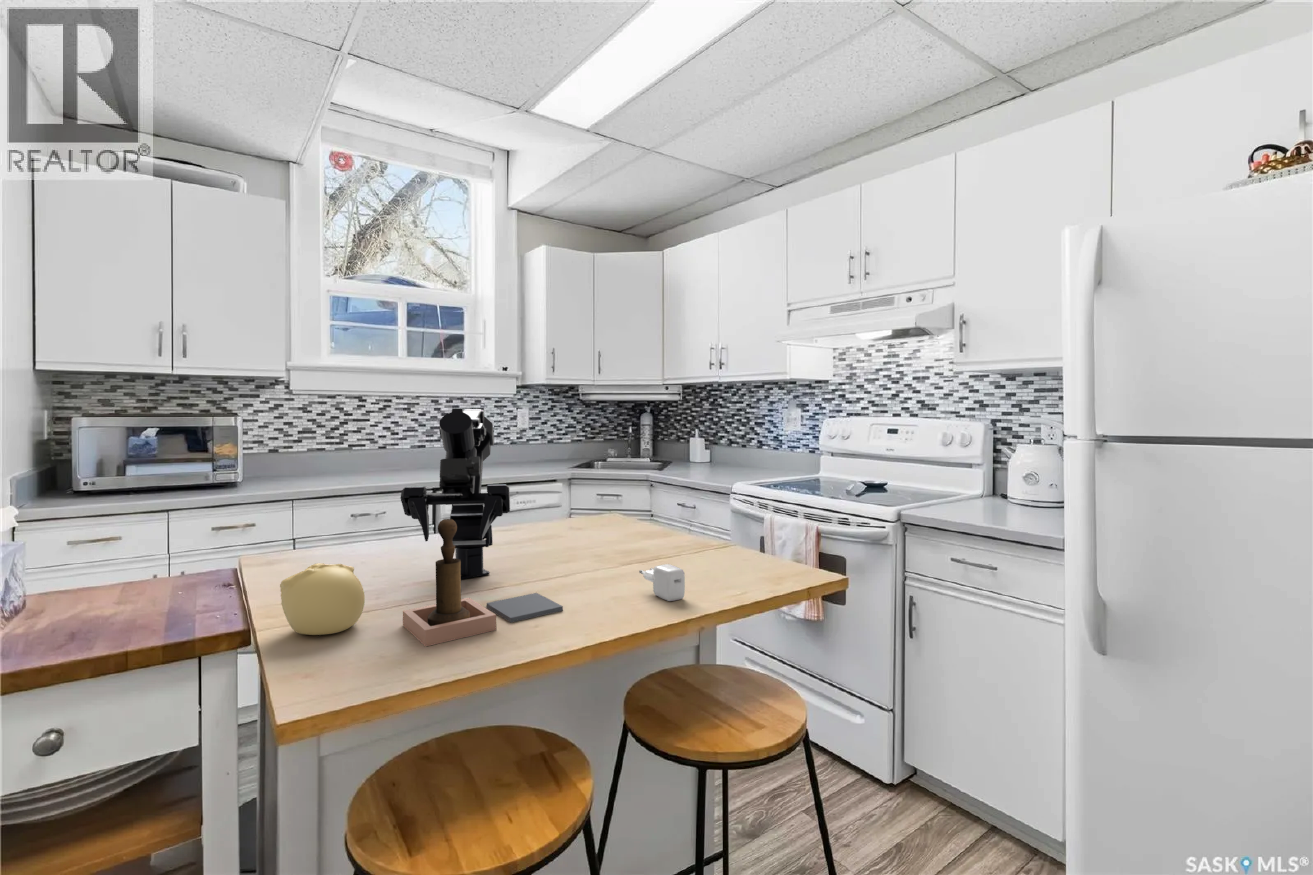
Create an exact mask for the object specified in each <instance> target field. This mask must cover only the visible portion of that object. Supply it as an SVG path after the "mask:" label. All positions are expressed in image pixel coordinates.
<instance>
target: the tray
mask: <svg viewBox="0 0 1313 875" xmlns="http://www.w3.org/2000/svg"><path fill="white" fill-rule="evenodd" d="M461 606H462V607H464V608H465V609H466V610H468V611H469V612H470V618H467V619H462V620H458V621H453V622H448V623H444V624H439V625H435V626H429V625H428V615H429V614H430V613H431V612H432V611H433V610H434V609H436V603H435V604H430V605H424V606H419V607H415V608H409V609H404V610H402V627H404V628H405V629H406V630H407V631H408V632H409V633H410V634H412V635H413V637H415V638H416V639H417V641H419V642H420V643H421V644H423V646H425V647H429V646H432V645H433V646H434V645H438V644H442V643H445V642H450V641H454V640H460V639H462V638H467V637H471V636H475V635H476V636H477V635H480V634H481V635H482V634H484V633H489V632H494V631H497V614H496V613H495V612H493V611H491V610H490V609H488V608H487V607H485V606H484V605H483V604H480V603H479V602H477V601H475V600H474V599H472V598H471V597H465V598H461Z"/></svg>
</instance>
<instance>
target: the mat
mask: <svg viewBox="0 0 1313 875" xmlns="http://www.w3.org/2000/svg"><path fill="white" fill-rule="evenodd" d="M563 607H564V606H563V605H561V604H560V603H557V602H555V601H553V600H551V599H550V598H548V597H546V596H543V595H542V594H540V593H537V592H533V593H528V594H524V595H519V596H514V597H509V598H504V599H500V600H495V601H490V602H486V607H485V608H486V609H488V610H489V611H491V612H493V613H494V614H496V615H498V616H499V617H501V618H502V619H504V620H506V621H507V622H509V623H514V622H519V621H524V620H528V619H532V618H536V617H542V616H545V615H549V614H553V613H558V612H563V609H564V608H563Z"/></svg>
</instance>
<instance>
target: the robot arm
mask: <svg viewBox="0 0 1313 875" xmlns="http://www.w3.org/2000/svg"><path fill="white" fill-rule="evenodd" d="M438 424H439V431H438V432H439V436H440V440H442V441H441V442H442V446H443V449H444V451H445V458H442V459H440V463H439V485H438V486H439V490H441V492H429V493H428V492H427V486H425V485H423V486H422V485H421V486H416V485H415V486H405V487H404V488H402V490H401V492H400V493H401V494H400V501H401V502H400V503H401V505H402V509H403V513H404V515H406V516H407V517H411V518H412V519H413V520H418V521H417V522H418V523H419V524H420V527H421V529H422V533H423V537H424V541H425V542H429V537H430V536H429V535H430V515H429V506H437V505H438V506H441V505H448V506H449V505H451V509H450V515H449V516H450V517H449V519H452V520H454V521H455V522H456V524H457V531H456V533H455V535H454V537H453V539H452V542H453V545H454V546H455V552H454V556H455V558H456V559H460V561H461V580H465V579H469V578H470V579H471V578H476V577H482V576H486V575H487V576H488V575H490V571H489V570H487V569H484V548H489V547H490V546H493V543H494V542H493V527H492V523H494V521H495V520H496V519H497V518H498V517H502V516H503V515H504V514H507V513H509V512H510V511H511V496H510V486H508V485H507V484H503V483H502V484H487V485H486V492H482V480H483V468H484V467H483V465H484V461H486V459H487V458H488V457H489V456H490V455H491V450H492V446H494V444H495V435H494V424H493V422H492V421H491V420H489V419H488V418H487V417H486V416H485V411H484V410H483V409H481V408H473V409H472V408H462V407H460V408H459V407H457V408H456V407H455V408H454V407H453V408H451V412H448V413H446V414H445V415H443V416H442V417H441V419H440V420H439V422H438Z"/></svg>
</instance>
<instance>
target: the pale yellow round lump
mask: <svg viewBox="0 0 1313 875" xmlns="http://www.w3.org/2000/svg"><path fill="white" fill-rule="evenodd" d="M354 572H355V567H354V566H350V565H347V564H342V563H334V564H330V563H329V564H326V563H320V562H319V563H318V562H317V563H314V564H311V565H309V566H307V568H306V569H304V570H302V571H299V572H298V573H295V574H293V575H291V576H289V577H287V578H285V579H283V580H282V581H281V582H280V584H279V588H280V592H281V593H280V600H281V603H280V604H281V606H282V610H283V614H284V615H285V618H286V621H287V623H288V625H289V626H290V628H291V629H292V630H293V631H294V632H295V633H297V634H300V635H309V636H318V635H319V636H321V635H331V634H337V633H340V632H343V631H346V630H347V629H349V628H351V627H352V626H354V625H355V624H356V623H357V622H358V621H359V619H360V618H361V616H362V613H363V611H364V608H365V600H366V599H365V598H366V596H365V591H364V587H363V585H362V583H361V581H360V580H359V578H358V577H357V575H355V573H354Z"/></svg>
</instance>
